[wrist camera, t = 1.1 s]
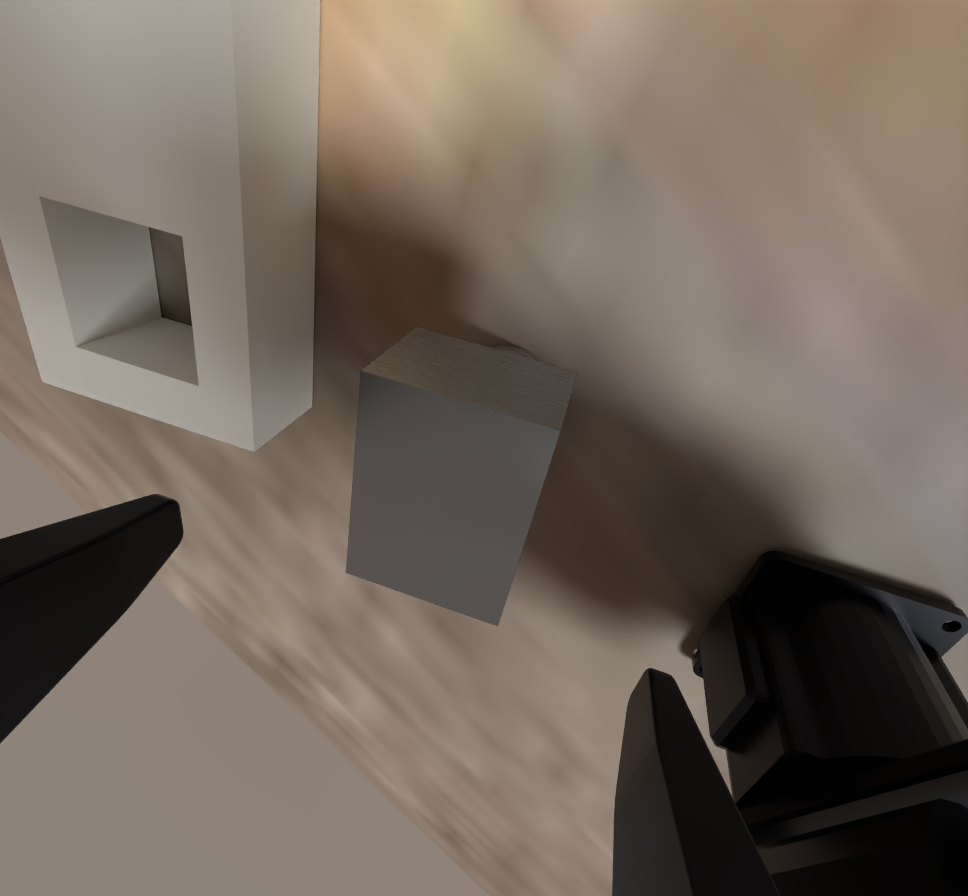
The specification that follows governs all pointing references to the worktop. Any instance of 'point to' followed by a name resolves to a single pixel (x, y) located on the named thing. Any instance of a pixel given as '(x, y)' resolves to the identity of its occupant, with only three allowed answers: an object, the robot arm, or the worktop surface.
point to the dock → (165, 202)
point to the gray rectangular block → (451, 467)
